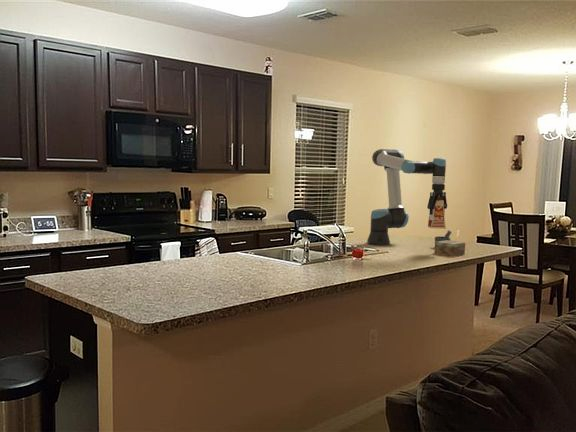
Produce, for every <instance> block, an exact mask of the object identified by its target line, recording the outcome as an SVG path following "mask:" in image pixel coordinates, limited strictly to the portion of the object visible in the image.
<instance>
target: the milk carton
mask: <svg viewBox="0 0 576 432" xmlns="http://www.w3.org/2000/svg"><path fill="white" fill-rule="evenodd" d="M439 196H440V195H439ZM428 214H429V213H428ZM429 215H430V214H429ZM429 215H428V216H429ZM445 217H446V216H445ZM445 217H444V200H442V199H441V198H438V200H437V201H436V204H435V206H434V220H429V219H428V221H427V223H428V224H427V227H428V228H429V229H439V230H440V229H441V230H442V229H443V230H444V229H445V230H446V229H447V227H446V220H445Z"/></svg>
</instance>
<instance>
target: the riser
mask: <svg viewBox="0 0 576 432" xmlns="http://www.w3.org/2000/svg"><path fill="white" fill-rule="evenodd" d="M466 245H467V243H466V242H461V241H453V240H450V241H448V240H445V241H438V242H435V241H434V253H433V254H437V253H438V254H437V255H443V254H444V256H448V257H449V256H450V257H455V256H457V255H458V256H463V255H465V254H466V253H465V252H466V251H465V250H466Z"/></svg>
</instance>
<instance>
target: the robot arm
mask: <svg viewBox="0 0 576 432" xmlns="http://www.w3.org/2000/svg"><path fill="white" fill-rule="evenodd" d="M372 153H373V154H372V157H371V159H372V163H373V164H374V165H376V166H377V167H384V168H383V170H384V171H385V172H386V182H387V184H386V185H387V198H388V207H387V208H377V209H373V210H372V211H371V213H370V232H369V236H368V238H367V241H366V244H367V245H373V246H389V245H391V240H390V236H389V229H400V228H405V227H406V226H407V224H408V222H409V218H410V217H409V216H410V215H409V213H408V212H407V211H406V210H405V207H404V206H403V204H402V203H403V202H402V189H401V177H400V176H401V175H400V171H401V172H403V173H405V174H408V175H409V174H418V175H419V174H421V175H431V174H432V176H431V177H432V178H431V179H432V180H431V183H432V185H431V190H432V191H433V192H432V191H431V192H429V199H428V203H427V209H428V210H429V213H428V214H430V215H428V221H429V220H434V206H435V204H436V201H437V200H438V198H441V199H442V200H444V217H446V216H445V215H446V209H447V208H448V203H447V193H446V191H445V190H446V189H445V188H446V185H445V183H446V170H447V169H446V167H447V160H446V158H443V157H440V158H439V157H437V158H433V160H432V161H418V160H416V161H415V160H410V159H406V158H405V156H404V153H403V152H402V151H401V150H398V149H384V148H381V149H377V150H375V151H374V152H372ZM439 195H440V196H439Z"/></svg>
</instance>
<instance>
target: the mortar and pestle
mask: <svg viewBox="0 0 576 432" xmlns="http://www.w3.org/2000/svg"><path fill="white" fill-rule="evenodd" d="M452 233H453V232H452V231H451V230H450V229H448V230H447V231H446V234H445V235H444V236H441V235H440V236H434V243H435V242H438V241H445V240H448V241H451V238H450V237H451V235H452Z"/></svg>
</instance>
